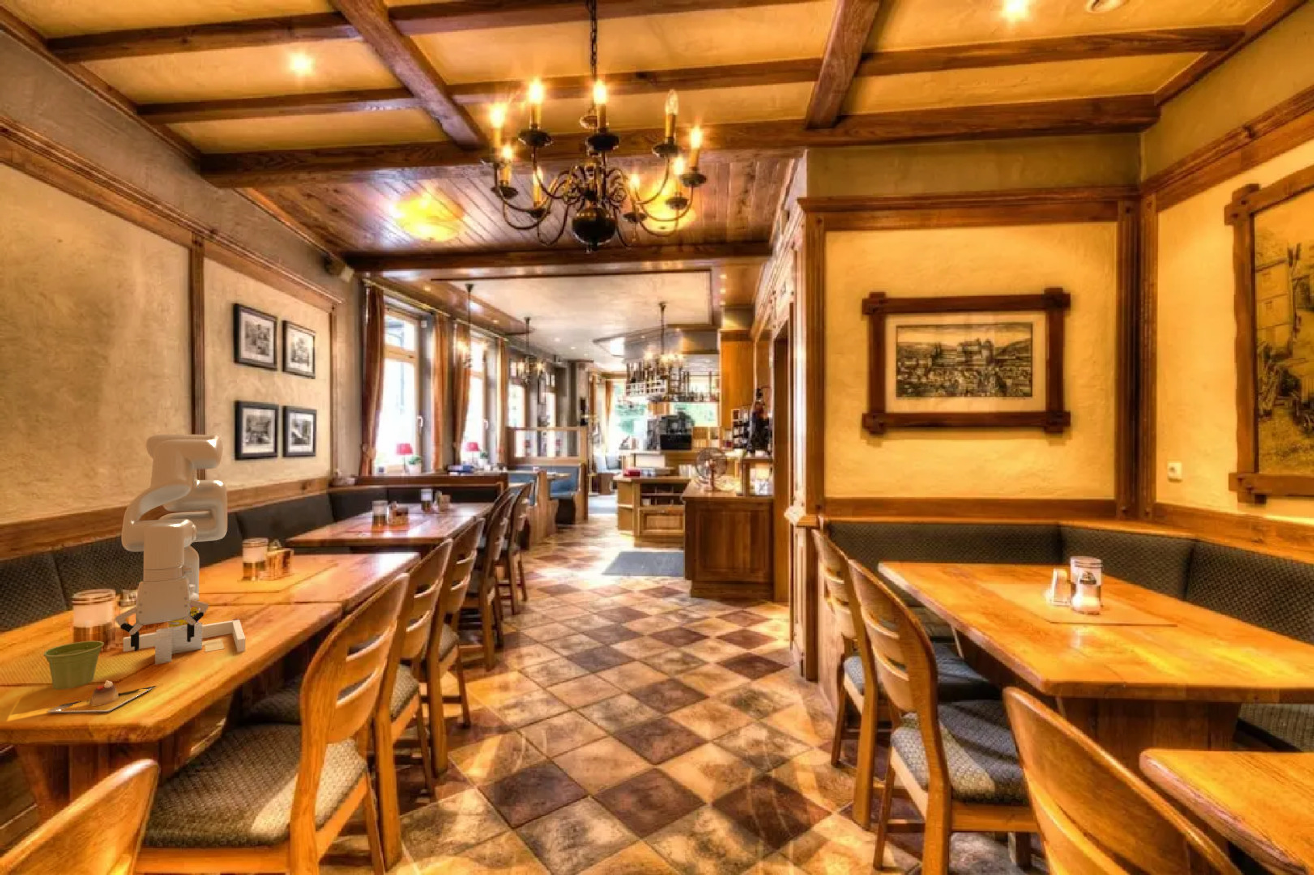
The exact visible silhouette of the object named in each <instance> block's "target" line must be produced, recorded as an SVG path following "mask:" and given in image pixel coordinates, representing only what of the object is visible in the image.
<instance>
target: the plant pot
mask: <svg viewBox="0 0 1314 875" xmlns="http://www.w3.org/2000/svg"><path fill="white" fill-rule="evenodd" d="M104 645H105V643H104V642H103V641H100V640H86V641H85V640H84V641H77V642H72V643H71V642H70V643H66V644H63V645H58V646H55V647H51V648H49V649H47V650H46V651H44V652H43V657H45V658H46V661H47V662H48V665H49V670H50V674H51V675H50V676H51V682H52V688H53V689H54V690H67V689H72V688H78V687H81V686H85V685H87V684H89V683H91V682H93V681H94V678H95V674H96V668H97V663H98V658H99V654H100V653H101V651H102V647H103V646H104Z"/></svg>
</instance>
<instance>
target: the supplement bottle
mask: <svg viewBox="0 0 1314 875" xmlns="http://www.w3.org/2000/svg"><path fill="white" fill-rule="evenodd" d="M189 586H190V599H193V600H196V601H200V594H199V595H198V594H196V593H194V590H195V585H193V584H189ZM198 612H199V607H195V606H191V609H190V615H191V616H193V617H194V616H195V615H196V614H197V613H198ZM196 623H200V620H198V621H197V622H196ZM187 624H188V622H186V621H185V620H184V619H180V620H174V621H168V628H170V627H176V626H183V625H187Z"/></svg>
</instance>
